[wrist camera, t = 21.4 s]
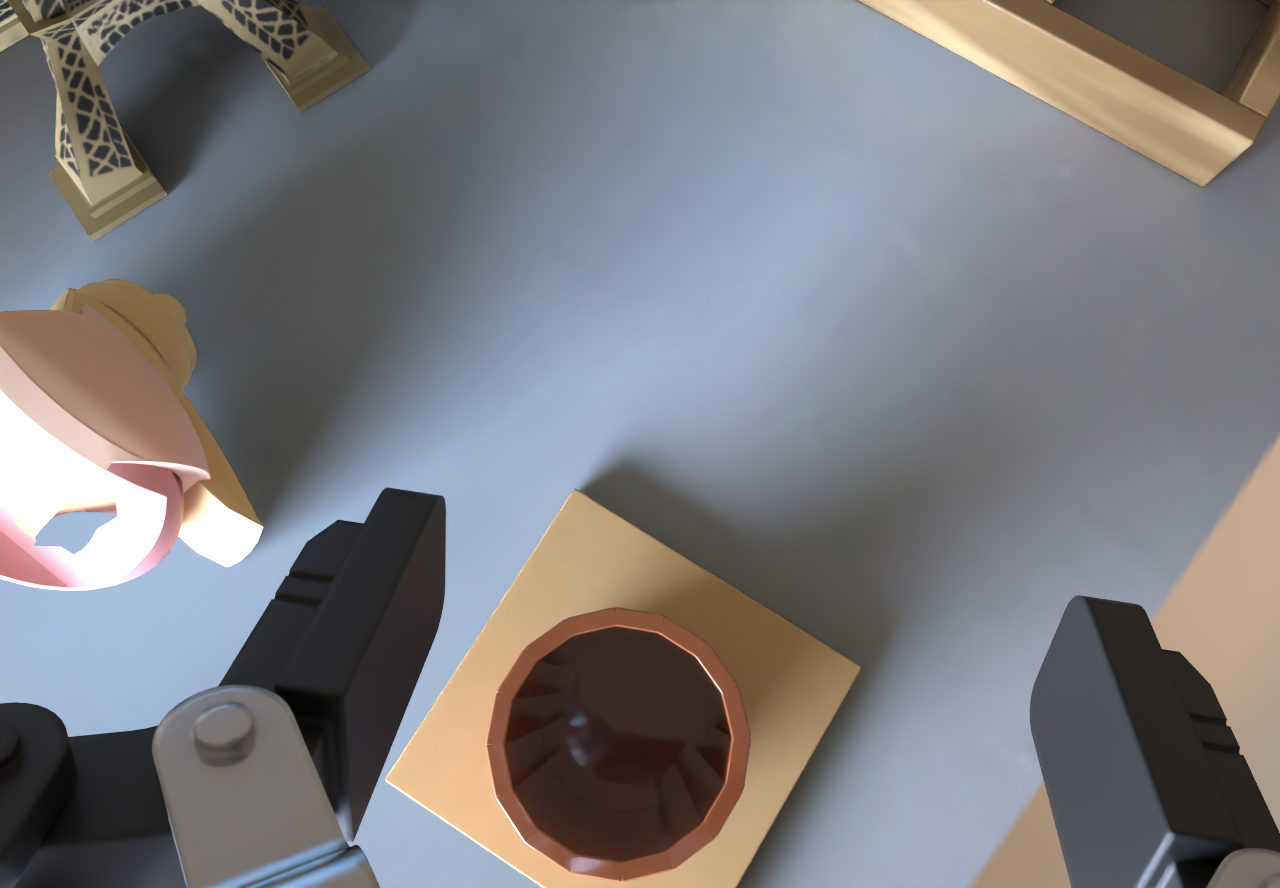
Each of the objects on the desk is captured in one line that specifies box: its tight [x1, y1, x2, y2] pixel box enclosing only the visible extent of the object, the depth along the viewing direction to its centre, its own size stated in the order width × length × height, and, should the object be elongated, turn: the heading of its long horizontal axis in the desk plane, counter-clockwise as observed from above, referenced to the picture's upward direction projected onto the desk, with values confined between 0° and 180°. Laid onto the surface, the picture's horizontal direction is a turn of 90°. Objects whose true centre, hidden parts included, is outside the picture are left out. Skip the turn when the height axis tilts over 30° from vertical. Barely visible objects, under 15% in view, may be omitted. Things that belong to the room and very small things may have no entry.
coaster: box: [385, 489, 861, 888], centre depth 31 cm, size 10×10×1 cm
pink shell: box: [0, 279, 263, 590], centre depth 30 cm, size 9×10×10 cm
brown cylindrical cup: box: [486, 607, 751, 882], centre depth 27 cm, size 5×5×9 cm
